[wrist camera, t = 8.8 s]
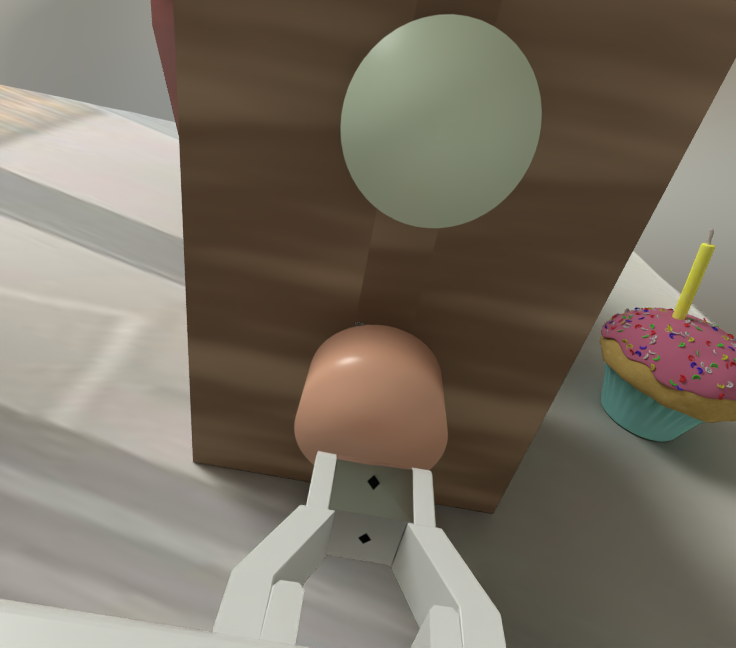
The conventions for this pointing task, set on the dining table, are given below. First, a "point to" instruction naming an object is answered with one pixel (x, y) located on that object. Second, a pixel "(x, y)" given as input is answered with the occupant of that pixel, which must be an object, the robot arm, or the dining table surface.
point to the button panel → (409, 243)
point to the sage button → (441, 121)
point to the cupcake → (668, 366)
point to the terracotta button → (374, 399)
